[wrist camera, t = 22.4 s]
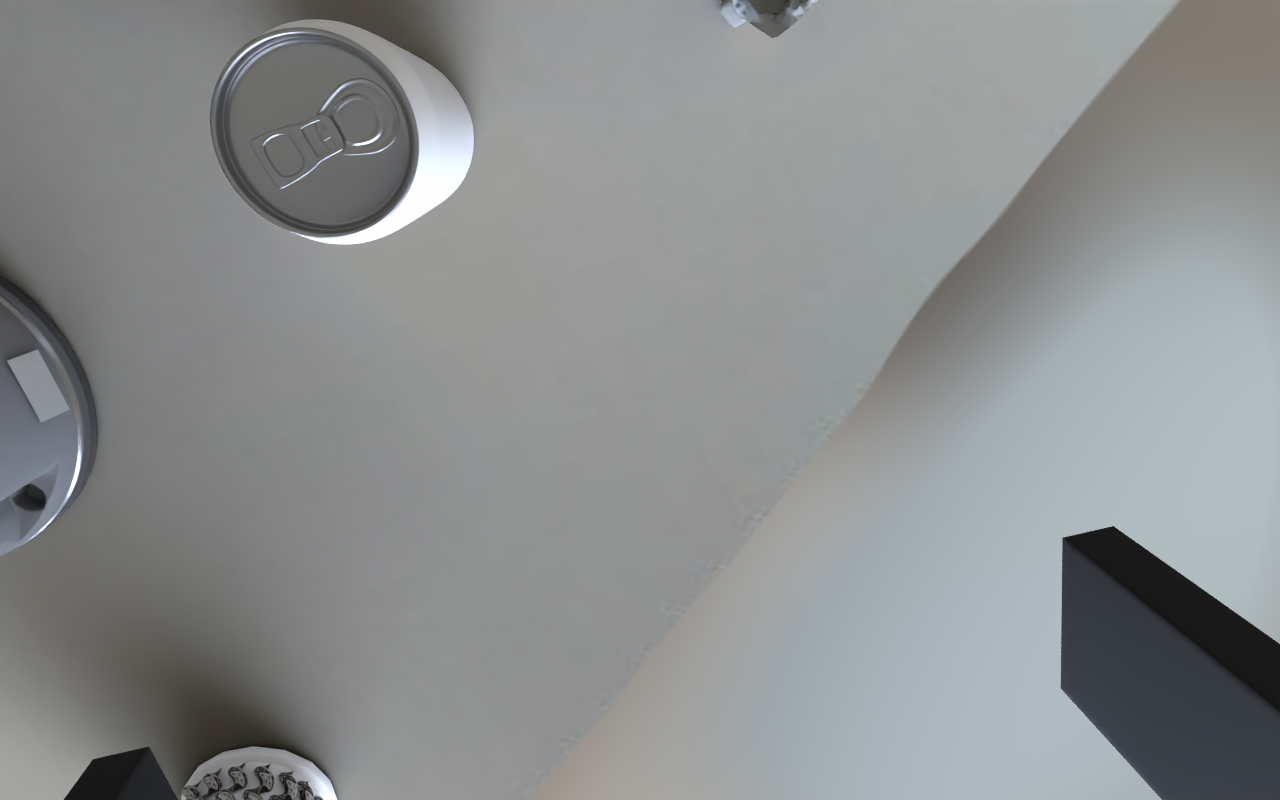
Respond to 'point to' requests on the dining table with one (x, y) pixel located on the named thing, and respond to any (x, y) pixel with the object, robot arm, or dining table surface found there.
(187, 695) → the dining table surface
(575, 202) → the dining table surface
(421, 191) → the can
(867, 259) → the dining table surface
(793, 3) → the egg carton
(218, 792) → the white patterned cylinder
